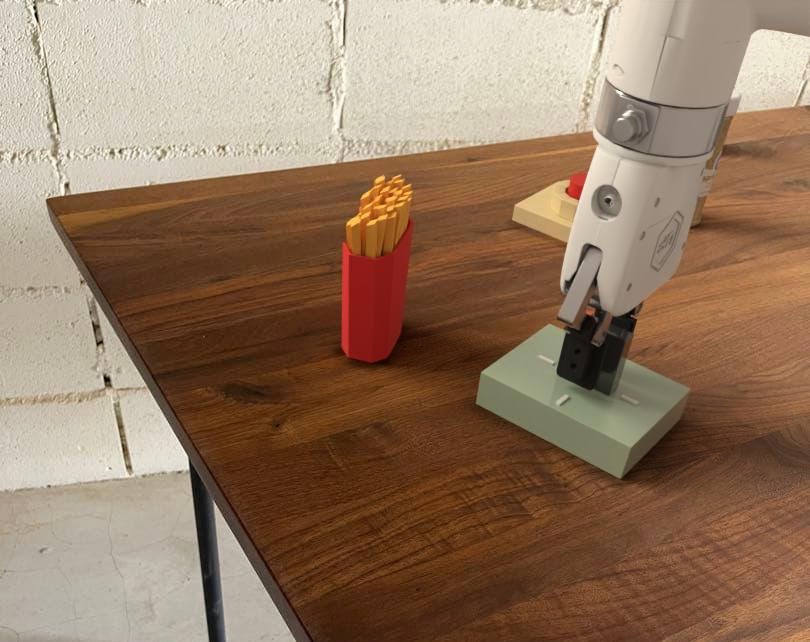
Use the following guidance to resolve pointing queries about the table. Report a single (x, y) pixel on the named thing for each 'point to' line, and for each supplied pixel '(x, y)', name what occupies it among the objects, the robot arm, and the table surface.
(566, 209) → the switch block
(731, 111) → the spice jar
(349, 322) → the french fries
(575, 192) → the power button
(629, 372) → the green flat block
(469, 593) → the table surface
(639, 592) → the table surface
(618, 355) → the red-topped dark block
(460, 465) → the table surface
